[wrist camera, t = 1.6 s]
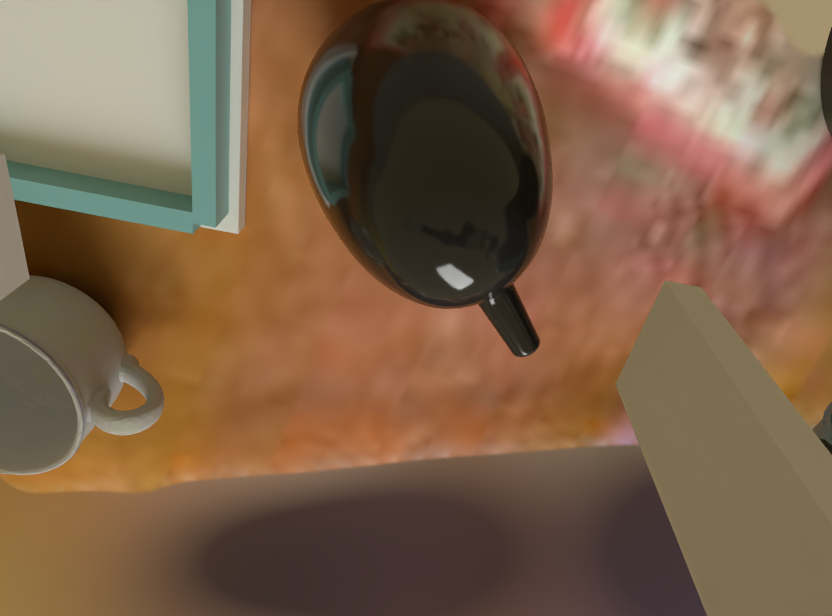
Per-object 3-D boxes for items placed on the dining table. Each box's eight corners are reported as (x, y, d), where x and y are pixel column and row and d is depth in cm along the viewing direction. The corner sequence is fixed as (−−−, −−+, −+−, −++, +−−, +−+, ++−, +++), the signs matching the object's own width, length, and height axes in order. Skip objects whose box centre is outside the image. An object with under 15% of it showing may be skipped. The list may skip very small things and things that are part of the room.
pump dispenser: (376, 227, 32) (410, 439, 20) (254, 63, 26) (201, 231, 14) (539, 130, 30) (684, 306, 18) (447, -73, 24) (576, -10, 12)
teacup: (-21, 355, 39) (-121, 438, 32) (-16, 222, 34) (-135, 288, 27) (177, 423, 41) (123, 514, 35) (211, 310, 36) (155, 391, 29)
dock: (254, -111, 25) (229, -120, 22) (244, 225, 33) (226, 249, 30) (-126, -196, 24) (-201, -217, 21) (-38, 171, 32) (-83, 190, 29)
